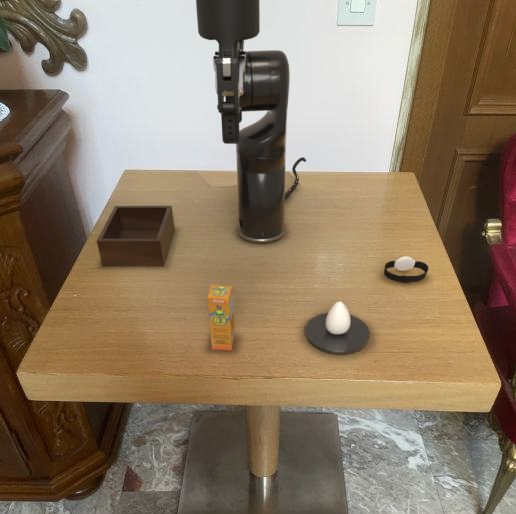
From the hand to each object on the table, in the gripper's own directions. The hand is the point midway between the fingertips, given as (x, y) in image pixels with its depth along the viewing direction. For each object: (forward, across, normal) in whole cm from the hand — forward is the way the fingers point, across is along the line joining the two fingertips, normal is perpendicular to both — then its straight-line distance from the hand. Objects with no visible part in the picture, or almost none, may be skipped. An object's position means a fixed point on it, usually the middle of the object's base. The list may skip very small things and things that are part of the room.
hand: (232, 132), depth 72 cm
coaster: (+28, -10, -16) cm, 33 cm away
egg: (+28, -10, -16) cm, 33 cm away
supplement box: (+28, -12, +2) cm, 31 cm away
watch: (+28, +7, -30) cm, 41 cm away
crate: (+28, +18, +20) cm, 39 cm away
